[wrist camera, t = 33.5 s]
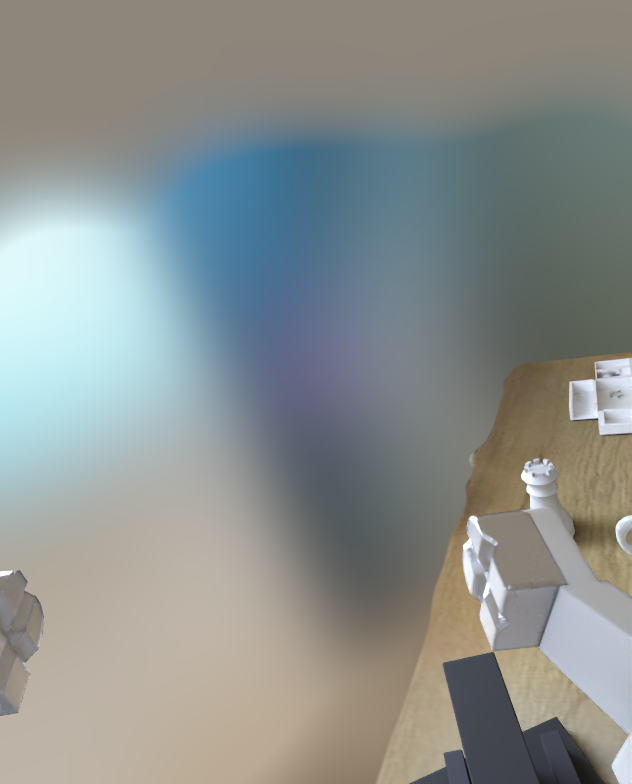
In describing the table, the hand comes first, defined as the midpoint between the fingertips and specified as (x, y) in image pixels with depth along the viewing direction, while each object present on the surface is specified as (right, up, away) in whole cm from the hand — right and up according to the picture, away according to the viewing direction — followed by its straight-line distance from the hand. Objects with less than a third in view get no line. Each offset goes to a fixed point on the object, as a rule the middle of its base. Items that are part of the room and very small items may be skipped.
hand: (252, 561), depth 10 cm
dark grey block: (+13, -22, +22) cm, 34 cm away
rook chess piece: (+24, -11, +44) cm, 51 cm away
